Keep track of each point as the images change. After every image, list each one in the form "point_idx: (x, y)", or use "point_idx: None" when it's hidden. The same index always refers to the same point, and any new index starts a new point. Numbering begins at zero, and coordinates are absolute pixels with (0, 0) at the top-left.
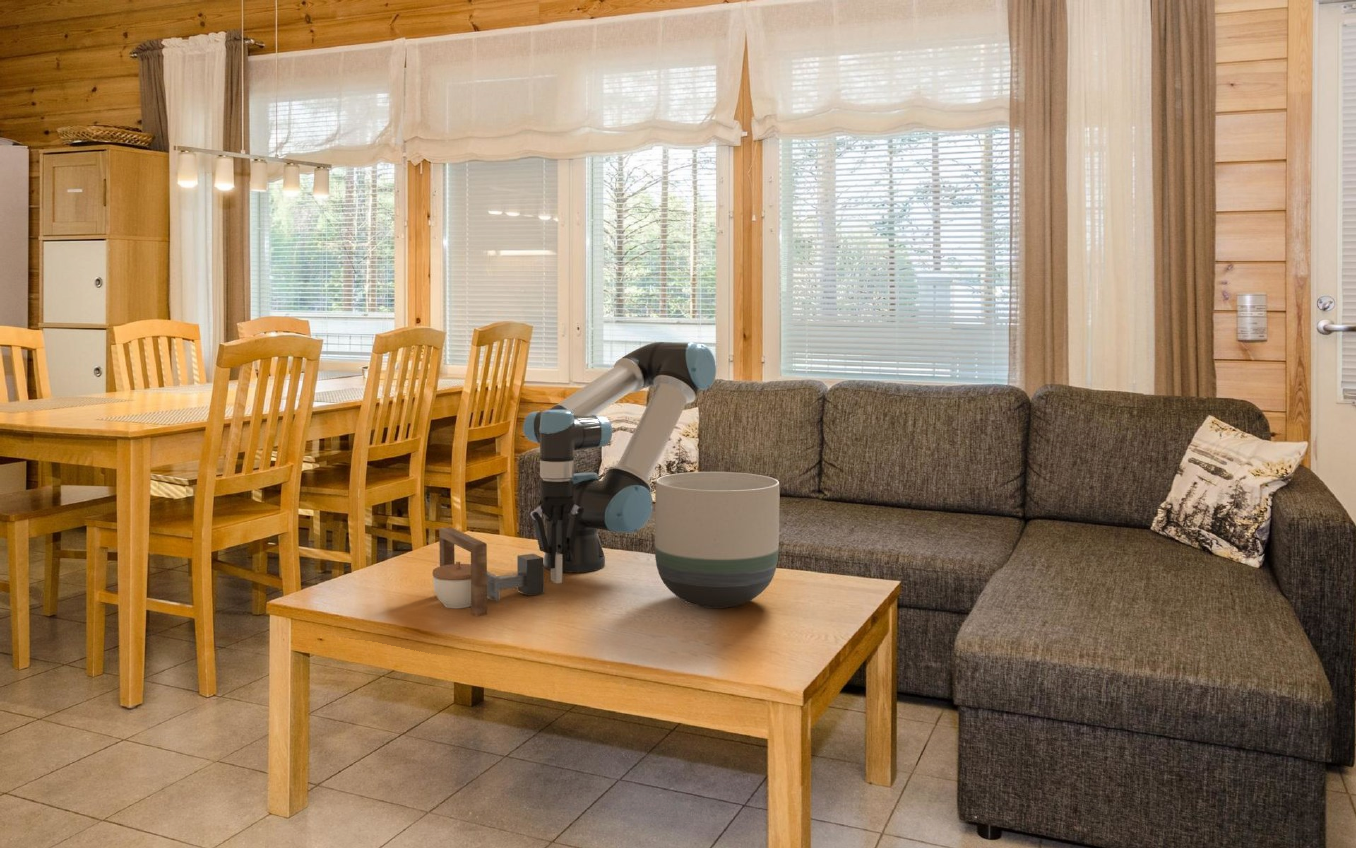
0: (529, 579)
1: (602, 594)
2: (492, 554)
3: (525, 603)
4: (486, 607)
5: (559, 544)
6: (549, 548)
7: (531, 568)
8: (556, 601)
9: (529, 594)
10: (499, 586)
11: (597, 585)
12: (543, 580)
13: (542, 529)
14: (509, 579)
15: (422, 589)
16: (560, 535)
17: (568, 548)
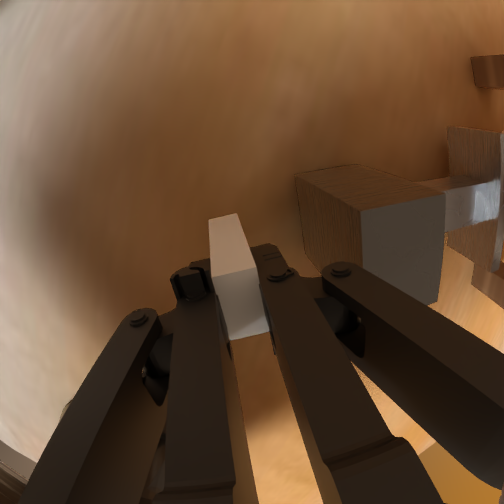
0: (378, 174)
1: (75, 126)
2: (277, 495)
3: (374, 99)
4: (484, 56)
5: (226, 349)
6: (315, 297)
7: (396, 187)
8: (270, 76)
9: (349, 166)
10: (454, 179)
11: (71, 256)
12: (310, 184)
13: (473, 361)
14: (441, 189)
15: (485, 319)
16: (229, 391)
17: (159, 320)
